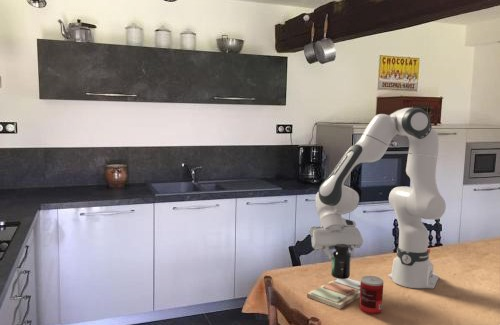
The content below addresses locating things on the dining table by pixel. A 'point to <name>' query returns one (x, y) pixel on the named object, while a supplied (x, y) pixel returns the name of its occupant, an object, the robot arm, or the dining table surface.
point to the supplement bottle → (341, 262)
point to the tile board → (337, 292)
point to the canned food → (371, 294)
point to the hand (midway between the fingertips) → (342, 258)
